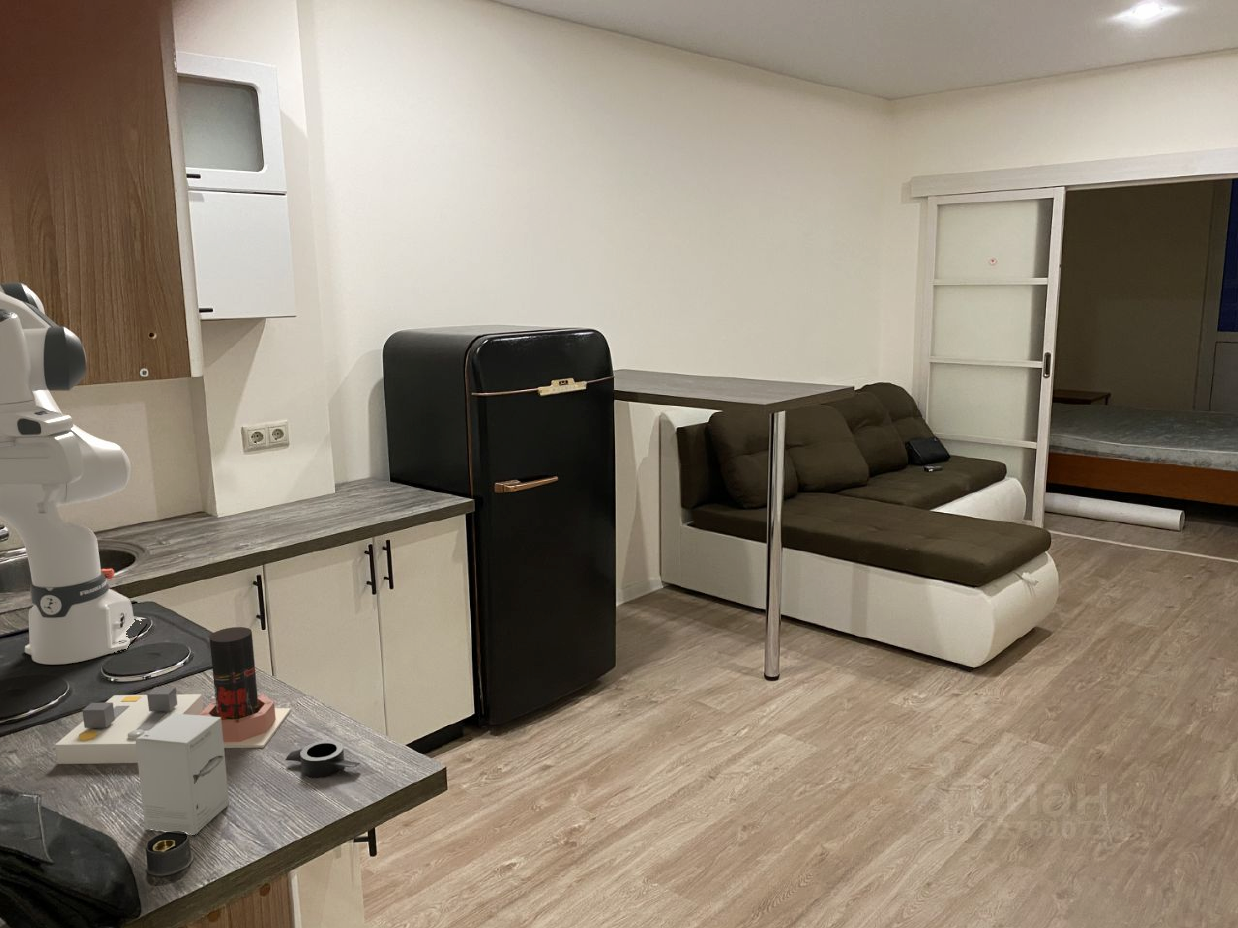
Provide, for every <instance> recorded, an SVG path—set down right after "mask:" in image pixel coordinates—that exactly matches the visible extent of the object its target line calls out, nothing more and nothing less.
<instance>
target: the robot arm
mask: <svg viewBox="0 0 1238 928" xmlns="http://www.w3.org/2000/svg"><path fill="white" fill-rule="evenodd" d="M82 343H83V342H82V341H81V339H80V337H78V336H77V335H76V334H75V333H74V332H72V331H71V330H70V329H68V328H67V327H65V326H59V325H58V324H56V322H55V321H53V320H52V319H51V318H49V317H48V316H47V315H46V313H45V308H44V305H43V303H42V301H41V299H40V298H39V297H38V295H37V294H36V293H35V292H34V291H33V290H31V289H30V288H29V287H28V285H26V284H24V283H22V282H17V281H16V282H4V283H0V519H1V520H2V521H4V522H6V523H7V524H8V525H9V526H10V527H12V528H13V529H14V531H15V532H16V533H17V534H18V536H19V538H20V539H21V540H22V542H23V546H24V548H25V552H26V556H27V559H28V560H27V561H28V566H29V571H30V577H31V582H30V584H29V596H30V599H31V604H33V606H31V607H30V609H29V610H28V632H29V633H28V635H29V636H28V637H29V640H28V641H29V643H28V644H27V645H25V646H24V653H25V654H27V655H30V656H31V660H32V661H33V662H35V663H37V664H41V665H67V664H72V663H73V664H75V663H79V662H84V661H88V660H93V659H96V658H100V657H103V656H106V655H108V654H114V652H115V653H118V652H117V651H118V650H121V649H126V650H128V649H129V648H128V646H129V644H130V639H129V638H128V637H126V636H128V635H126V633H127V632H126V631H127V630H128V629H129V628H130V626H132V624H133V623H134V622H135V620H134V619H136V620H139V621H142V620H141V619H146V618H145V617H142V616H141V617H140V616H134V611H133V605H132V602H131V600H130V599H129V598H128V597H127V596H123V595H122V594H120V593H118V592H116V591H114V590H113V589H110V586H109V583H108V580H113V579H114V577H115V570H114V569H113V568H102V567H101V561H100V554H99V552H100V551H99V545H98V538H97V536H96V535H95V533H94V531H93V530H91V529H90V528H89V527H87V526H85V525H82V524H79V523H76V522H73V521H67V520H64V519H62V518H61V517H60V514H59V507H61V506H66V505H72V504H77V503H84V502H88V501H94V500H99V499H102V498H104V497H107V496H111V495H114V494H116V493H118V492H120V491H123V490H124V489H125V488H126V486H127V485H128V483H129V481H130V480H131V479H130V478H131V474H132V468H131V461H130V458H129V456H128V455H127V453H126V451H124V449H123V448H122V447H121V446H120V445H119V444H117V443H115V442H114V441H109V440H105V439H102V438H99V437H98V436H97V437H96V436H94V435H93V434H90V433H88V432H86V431H85V430H83V429H81V428H80V427H78V426H77V425H75V423H74V421H73V417H72V416H70V415H68V414H65V413H63V412H62V411H61V409H60V407H59V406H58V404H57V402H56V401H55V399H54V397H53V396H52V394H51V392H52V391H53V392H55V391H56V392H57V391H59V392H60V391H62V392H63V391H67V392H68V391H69V392H70V391H71V390H72V389H73V388H75V387H76V386H77V385H78V384H79V383H80V382H81V381H82V380H83V379H84V377H86V374H87V356H86V351H85V348H84V346H83V344H82ZM140 624H141V623H140ZM119 641H127V642H124V643H121V644H119V643H118V642H119ZM129 647H130V646H129ZM127 648H128V649H127Z"/></svg>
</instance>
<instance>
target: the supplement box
mask: <svg viewBox="0 0 1238 928" xmlns="http://www.w3.org/2000/svg"><path fill="white" fill-rule="evenodd" d="M135 742H136V751H137V759H138V763H137V768H138V776H139V785H140V794H141V802H142V813H143V821H144V829H145V830H146V829H153V830H163V831H184V832H187V833H188V834H190V833H191V834H193V835H195V834H196V835H197V834H198V833H199V832H200V831H201V830H202V829H203V828H205V826H206V825H207V824H208V823H210V822H211V821H212V820H213V819H214V818H215V817H217V816H218V815H219V814H220V813H221V812H223V811H224V809H226V808H227V807H228V806H229V805H230V798H229V787H228V786H229V785H228V774H227V766H226V765H227V764H226V757H225V756H226V755H225V748H224V743H223V732H222V723H221V717H212V716H201V715H187V714H175V713H174V714H172V715H170V716H169V717H167V718H166V719H164V720H163V721H161V722H160V723H159V724H157V725H156V726H154V727H153V728H151V729H150V730H148V731H147V732H145V733H144V734H142V735H141V736H140V737H138V738H136V739H135ZM196 835H195V836H196Z"/></svg>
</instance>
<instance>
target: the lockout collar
mask: <svg viewBox="0 0 1238 928" xmlns="http://www.w3.org/2000/svg"><path fill="white" fill-rule="evenodd" d="M257 694H258V705H259V712H258V713H255V714H252V715H249V716H246V717H244V718H241V719H238V720H221V723H222V732H223V743H224V749H250V748H252V749H253V748H254V749H255V748H257V749H260V748H263V749H264V748H265V746H266V745H267V744H268V743H269V741H270V740H271V739H272V737H273V736H274V734H275V733H276V732H277V730H279V727H280V726H281V725H282V724H283V722H284V721H285V719H286V718H287V717H288V716H289V715H290V713H291V712H292V708H291V707H290V708H289V707H283V708H282V707H276V708H275V706H276V705H275V701H274V700H272V699H270V698H269V697H267V696H266V695H265V694H263V693H257ZM203 709H204V710H203V711H202V712H201V713H200V714H199V715H201V716H212V717H217V708H216V700H214V701H211V702H210V703H209V704H208V705H207V706H205V708H203Z"/></svg>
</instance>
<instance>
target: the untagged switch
mask: <svg viewBox="0 0 1238 928" xmlns="http://www.w3.org/2000/svg"><path fill="white" fill-rule="evenodd" d="M146 695H147V697H148V706H149V711H171V710H172V709H173V708H174V707H175V706H176V705H177V696H176V695H177V689H176V687H175V686H173V687H172V686H171V687H167V686H166V687H165V686H163V687H154V688H153V689H151V690H150V691H149V692H148V693H147V694H146Z"/></svg>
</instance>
